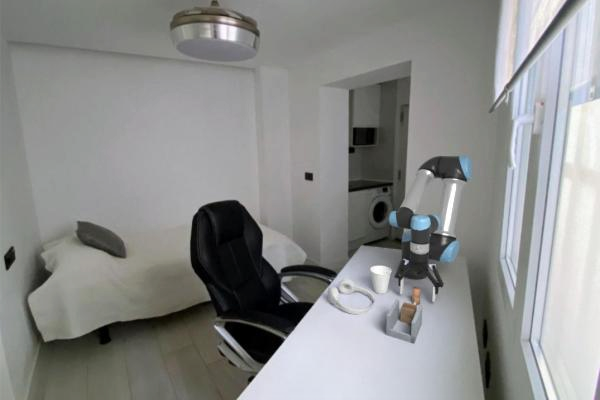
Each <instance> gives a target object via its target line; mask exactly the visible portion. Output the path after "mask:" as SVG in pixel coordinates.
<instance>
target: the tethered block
mask: <svg viewBox="0 0 600 400" xmlns="http://www.w3.org/2000/svg"><path fill="white" fill-rule="evenodd" d="M411 298H412V299H411V301H412V302H411V303H409V302H405V301H404V302H403V303H402V305H401V308H400V322H401V323H405V324H408V325H411V326H412V321H413V318H414V316H415V314H416V311H417V309H418V306H419V305H421V287H419V286H413V287H412V296H411Z"/></svg>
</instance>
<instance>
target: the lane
mask: <svg viewBox="0 0 600 400" xmlns="http://www.w3.org/2000/svg"><path fill="white" fill-rule="evenodd" d="M399 317H400V299H395V300H394V302H393V304H392V306H391V308H389V310H388V313H387V314H386V329H385V330H386V331H385V332H386V333H385V335H386V336H389V337H390V338H391V337H392V338H395V339H398V340H401V341H404V342H407V343H411V344H415V343H416V340H417V337H418V335H419V333H420V330H421V327H422V323H423V321H422V319H423V305H421V304H419V305H418V306H417V311H416V314H415V316H414V318H413V321H412V325H411V326H410V327H411V330H410V331H411V332H410V334H409V333H405V332H402V331H400V330H396V329H394V328H395V326H396V324H397V322H398V320H399Z"/></svg>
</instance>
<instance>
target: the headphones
mask: <svg viewBox="0 0 600 400" xmlns="http://www.w3.org/2000/svg"><path fill="white" fill-rule="evenodd" d="M326 292H327V293H326V294H327V300H328V301H329V303H330V304H332V305H335V306H337V308H338V309H340V310H341V311H342V312H345V313H347V314H350V315H363V314H365V313H368V312H369V311H370V310H372V309H373V307H374V305H375V296H374V294H373V293H372V292H370V291H369V290H368V289H366V288H363V287H361V286H358V285H357V284H356V283H354V282H353V280H351V279H348V278H343V279H341V280H340V281H339V282H338V286H337V287H336V286H329V287H328V288H327V291H326ZM339 292H340V293H341V294H343V295H351V294H353V293H354V292H360V293H362V294H364V295H366V296H367V297H369V299H371V301H372V304H371V306H368V307H367V308H364V309H363V308H362V309H355V308H351V307H347V306H345V305H344V304H343V303H341V302H340V293H339Z"/></svg>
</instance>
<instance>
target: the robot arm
mask: <svg viewBox="0 0 600 400" xmlns="http://www.w3.org/2000/svg"><path fill="white" fill-rule="evenodd" d="M473 175H474V167H473V162H472V159H471V158H470V157H469V156H463V155H452V156H451V155H437V156H433V157H431V158H429V159H427V160H426V161H424V162H423V163H422V164H421V165H420V166H419V167H418V169H417V171H416V172H415V178H414V181H413V182H412V183H411V186H410V188H409V190H408V192H407V194H406V195H405V197H404V199H403V201H402V203H401V205H400V207H399V208H398V210H393V211H391V212H390V213H389V216H388V223H389V225H390V226H391V227H394V228H398V229H399V228H400V229H404V230H408V231H404V233H402V237H401V258H400V262H399V264H398V267H397V271H396V273H395V274H394V276H393V278H395V279H397V281H398V282H397V283H398V284H397V285H398V287H400V291H399V292H400V293H399V294H400V295H403V294H404V285H405V278H407V279H411V280H423V279H425V278H427V279H429V281H430V282H431V284H432V285H433V287H432V300H431V301H432V302H433V303H434V302H435V301H436V295H438V294H439V289H440V288H443V287H444V284H445V283H444V281H443V279H442V276H440V273H439V271H438V269H437V264H436V263H429V260H431V261H434V262H439V263H445V264H452V263H453V262H454V261H455V260H456V258H457V257H458V254H459V250H460V242H459V241H458V240H457V236H456V234H455V227H456V223H457V218H458V213H459V207H460V202H461V197H462V191H463V187H464V186H466V185H467V183H468V181H470V180H472V178H473ZM435 179H441V180H440V181H441V183H442V184H443V187H442V191H441V197H440V201H439V208H438V212H437V215H436V214H427V215H425V214H424V215H423V214H417V213H416V212H417V210H418V207H419V205H420V204H421V202H422V200H423V198H424V196H425V194H426V192H427V190H428V188H429V186H430V184H431V183H433V182H434V181H435ZM429 268H430V269H431V270H432V272H433V274H434V276H433V274H432V273H431V272H430V270H429Z"/></svg>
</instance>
